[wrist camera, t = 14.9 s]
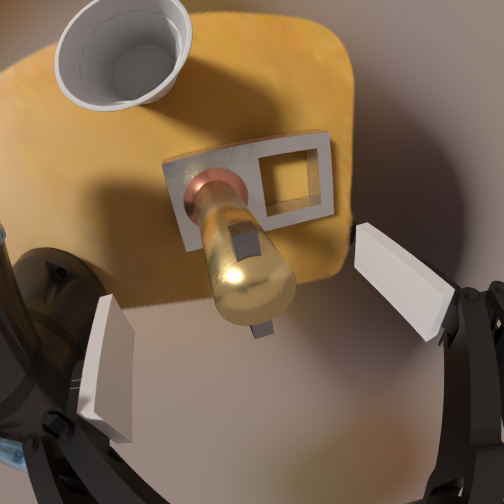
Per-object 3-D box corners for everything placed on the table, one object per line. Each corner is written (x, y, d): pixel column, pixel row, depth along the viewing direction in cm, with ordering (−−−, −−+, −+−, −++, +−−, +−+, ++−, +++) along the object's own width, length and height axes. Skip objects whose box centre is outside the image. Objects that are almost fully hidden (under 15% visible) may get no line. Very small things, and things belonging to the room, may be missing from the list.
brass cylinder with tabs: (186, 173, 23) (197, 247, 11) (230, 163, 23) (291, 222, 12) (202, 237, 26) (229, 348, 14) (242, 226, 27) (299, 327, 15)
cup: (201, 84, 22) (218, 60, 12) (129, 128, 22) (92, 140, 12) (163, 23, 18) (155, -34, 8) (91, 68, 18) (36, 44, 8)
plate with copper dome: (185, 239, 29) (186, 253, 26) (163, 159, 25) (161, 164, 22) (321, 204, 31) (334, 214, 29) (315, 129, 27) (330, 132, 24)
